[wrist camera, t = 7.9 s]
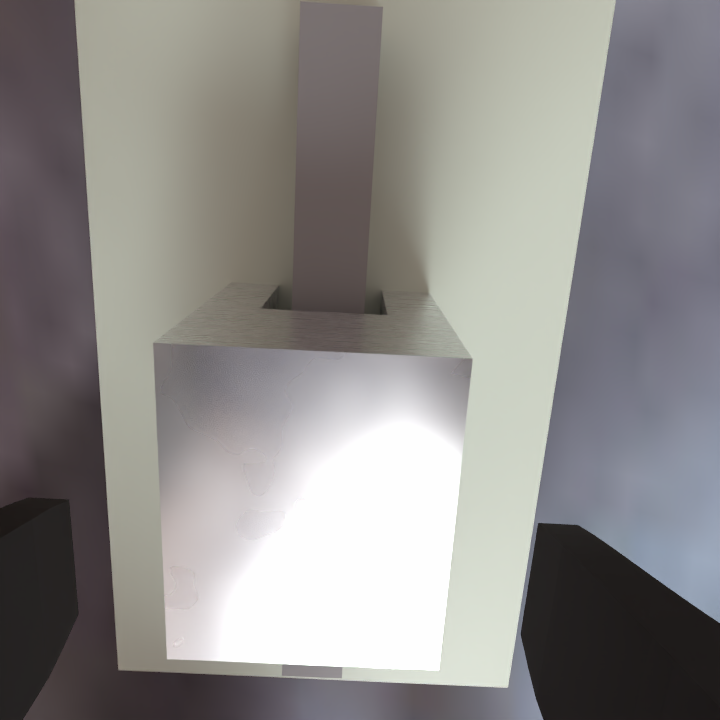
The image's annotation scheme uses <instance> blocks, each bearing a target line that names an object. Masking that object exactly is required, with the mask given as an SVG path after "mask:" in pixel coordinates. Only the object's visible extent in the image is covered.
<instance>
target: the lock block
mask: <svg viewBox="0 0 720 720" xmlns="http://www.w3.org/2000/svg"><path fill="white" fill-rule="evenodd" d="M278 309H279V285H269V284H250V283H230V284H228V285H227V286H226V287H225V288H223V289H222V290H221V291H219V292H218V293H217V294H216V295H214V296H213V297H212V298H210V299H209V300H208V301H206V302H205V303H204V304H203V305H201V306H200V307H199V308H197V309H196V310H195V311H194V312H192V313H191V314H190V315H188V316H187V317H186V318H184V319H183V320H182V321H181V322H179V323H178V324H177V325H175V326H174V327H173V328H172V329H170V330H169V331H168V332H166V333H165V334H164V335H162V336H161V337H160V338H159V339H157V340H156V341H155V342H153V353H154V376H155V398H156V421H157V443H158V466H159V488H160V511H161V533H162V556H163V578H164V601H165V623H166V646H167V659H178V660H202V661H226V662H251V663H275V664H300V665H324V666H348V667H373V668H397V669H422V670H439V663H440V654H441V645H442V636H443V626H444V617H445V608H446V599H447V590H448V581H449V572H450V563H451V553H452V544H453V535H454V526H455V517H456V508H457V499H458V490H459V480H460V471H461V462H462V453H463V444H464V435H465V426H466V417H467V408H468V398H469V389H470V380H471V371H472V362H473V358H472V357H471V355H470V354H469V352H468V351H467V349H466V348H465V346H464V345H463V343H462V342H461V340H460V339H459V337H458V336H457V334H456V332H455V331H454V329H453V328H452V326H451V325H450V323H449V322H448V320H447V319H446V317H445V316H444V314H443V313H442V311H441V310H440V308H439V307H438V305H437V304H436V302H435V301H434V299H433V297H432V296H431V294H430V293H423V292H404V291H384V290H382V299H381V315H375V314H356V313H336V312H317V311H297V310H278Z"/></svg>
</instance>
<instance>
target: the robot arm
mask: <svg viewBox="0 0 720 720" xmlns="http://www.w3.org/2000/svg"><path fill="white" fill-rule="evenodd" d="M77 616H78V602H77V590H76V578H75V566H74V554H73V542H72V530H71V518H70V506H69V500H65V499H45V498H26V499H24V500H21V501H18V502H15V503H12V504H10V505H7V506H5V507H2V508H0V720H23V718H24V717H25V715H26V713H27V712H28V710H29V709H30V707H31V705H32V704H33V702H34V701H35V699H36V697H37V696H38V694H39V692H40V691H41V689H42V688H43V686H44V684H45V683H46V681H47V679H48V678H49V676H50V674H51V672H52V669H53V667H54V665H55V663H56V661H57V659H58V657H59V655H60V653H61V651H62V649H63V647H64V645H65V642H66V640H67V638H68V636H69V634H70V631H71V629H72V627H73V625H74V622H75V620H76V618H77ZM521 638H522V642H523V646H524V651H525V655H526V660H527V664H528V669H529V673H530V677H531V680H532V684H533V688H534V692H535V696H536V700H537V703H538V706H539V708H540V711H541V714H542V717H543V719H544V720H720V623H718V622H717V621H715V620H714V619H713V618H711V617H710V616H708V615H707V614H705V613H704V612H702V611H701V610H699V609H698V608H696V607H695V606H693V605H692V604H691V603H689V602H688V601H686V600H685V599H683V598H682V597H680V596H679V595H678V594H676V593H675V592H673V591H672V590H671V589H669V588H668V587H666V586H665V585H663V584H662V583H661V582H659V581H658V580H656V579H655V578H654V577H652V576H651V575H650V574H648V573H647V572H645V571H644V570H643V569H641V568H640V567H638V566H637V565H636V564H634V563H633V562H631V561H630V560H629V559H627V558H626V557H625V556H623V555H622V554H620V553H619V552H618V551H616V550H615V549H613V548H612V547H610V546H609V545H608V544H606V543H605V542H603V541H602V540H600V539H599V538H597V537H596V536H594V535H593V534H591V533H590V532H588V531H587V530H585V529H583V528H582V527H580V526H578V525H565V524H545V523H538V528H537V534H536V541H535V547H534V553H533V560H532V566H531V572H530V578H529V585H528V591H527V597H526V604H525V610H524V616H523V623H522V629H521Z"/></svg>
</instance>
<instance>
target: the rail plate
mask: <svg viewBox="0 0 720 720" xmlns="http://www.w3.org/2000/svg"><path fill="white" fill-rule="evenodd" d="M74 1H75V16H76V32H77V47H78V62H79V77H80V93H81V108H82V123H83V138H84V153H85V169H86V184H87V199H88V214H89V230H90V245H91V260H92V275H93V291H94V306H95V321H96V336H97V352H98V367H99V382H100V397H101V413H102V428H103V443H104V458H105V474H106V489H107V504H108V519H109V534H110V550H111V565H112V580H113V595H114V611H115V626H116V641H117V656H118V670H128V671H150V672H172V673H194V674H217V675H239V676H261V677H283V678H305V679H328V680H350V681H372V682H394V683H417V684H439V685H461V686H483V687H505V688H508V683H509V677H510V670H511V664H512V657H513V651H514V645H515V638H516V632H517V626H518V619H519V613H520V606H521V600H522V594H523V587H524V581H525V575H526V568H527V562H528V556H529V549H530V543H531V536H532V530H533V524H534V517H535V511H536V505H537V498H538V492H539V486H540V479H541V473H542V466H543V460H544V454H545V447H546V441H547V435H548V428H549V422H550V416H551V409H552V403H553V396H554V390H555V384H556V377H557V371H558V365H559V358H560V352H561V345H562V339H563V333H564V326H565V320H566V314H567V307H568V301H569V295H570V288H571V282H572V275H573V269H574V263H575V256H576V250H577V244H578V237H579V231H580V225H581V218H582V212H583V205H584V199H585V193H586V186H587V180H588V174H589V167H590V161H591V154H592V148H593V142H594V135H595V129H596V123H597V116H598V110H599V104H600V97H601V91H602V84H603V78H604V72H605V65H606V59H607V53H608V46H609V40H610V34H611V27H612V21H613V14H614V8H615V2H616V0H74ZM230 283H250V284H269V285H279V309H278V310H297V311H317V312H336V313H356V314H375V315H381V299H382V290H384V291H404V292H423V293H430V294H431V296H432V297H433V299H434V301H435V302H436V304H437V305H438V307H439V308H440V310H441V311H442V313H443V314H444V316H445V317H446V319H447V320H448V322H449V323H450V325H451V326H452V328H453V329H454V331H455V332H456V334H457V336H458V337H459V339H460V340H461V342H462V343H463V345H464V346H465V348H466V349H467V351H468V352H469V354H470V355H471V357H472V358H473V362H472V371H471V380H470V389H469V398H468V408H467V417H466V426H465V435H464V444H463V453H462V462H461V471H460V480H459V490H458V499H457V508H456V517H455V526H454V535H453V544H452V553H451V563H450V572H449V581H448V590H447V599H446V608H445V617H444V626H443V636H442V645H441V654H440V663H439V670H422V669H397V668H373V667H348V666H324V665H300V664H275V663H251V662H226V661H202V660H178V659H167V646H166V623H165V601H164V578H163V556H162V533H161V511H160V488H159V466H158V443H157V421H156V398H155V376H154V353H153V342H155V341H156V340H157V339H159V338H160V337H161V336H162V335H164V334H165V333H166V332H168V331H169V330H170V329H172V328H173V327H174V326H175V325H177V324H178V323H179V322H181V321H182V320H183V319H184V318H186V317H187V316H188V315H190V314H191V313H192V312H194V311H195V310H196V309H197V308H199V307H200V306H201V305H203V304H204V303H205V302H206V301H208V300H209V299H210V298H212V297H213V296H214V295H216V294H217V293H218V292H219V291H221V290H222V289H223V288H225V287H226V286H227V285H228V284H230Z"/></svg>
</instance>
